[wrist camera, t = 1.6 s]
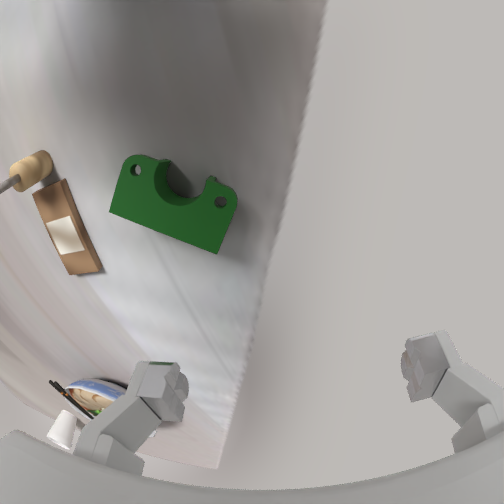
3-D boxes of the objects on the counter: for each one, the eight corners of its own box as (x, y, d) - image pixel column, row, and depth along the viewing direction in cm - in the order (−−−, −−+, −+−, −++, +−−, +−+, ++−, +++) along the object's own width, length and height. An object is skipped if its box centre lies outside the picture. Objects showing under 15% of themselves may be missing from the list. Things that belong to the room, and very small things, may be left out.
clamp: (226, 177, 33) (258, 199, 26) (207, 223, 35) (233, 258, 27) (127, 145, 27) (127, 158, 19) (111, 198, 28) (106, 229, 21)
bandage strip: (37, 190, 30) (31, 194, 29) (65, 178, 29) (59, 182, 28) (73, 270, 36) (69, 275, 35) (102, 266, 36) (98, 271, 34)
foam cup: (61, 413, 76) (50, 440, 65) (55, 404, 71) (43, 433, 60) (83, 424, 77) (72, 452, 66) (78, 415, 72) (67, 445, 61)
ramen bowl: (180, 419, 60) (174, 448, 53) (107, 409, 63) (98, 433, 56) (132, 360, 47) (119, 396, 40) (54, 352, 50) (39, 379, 43)
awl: (31, 155, 27) (-17, 181, 20) (47, 146, 27) (-3, 171, 19) (39, 180, 29) (-6, 210, 21) (56, 172, 28) (8, 202, 21)
